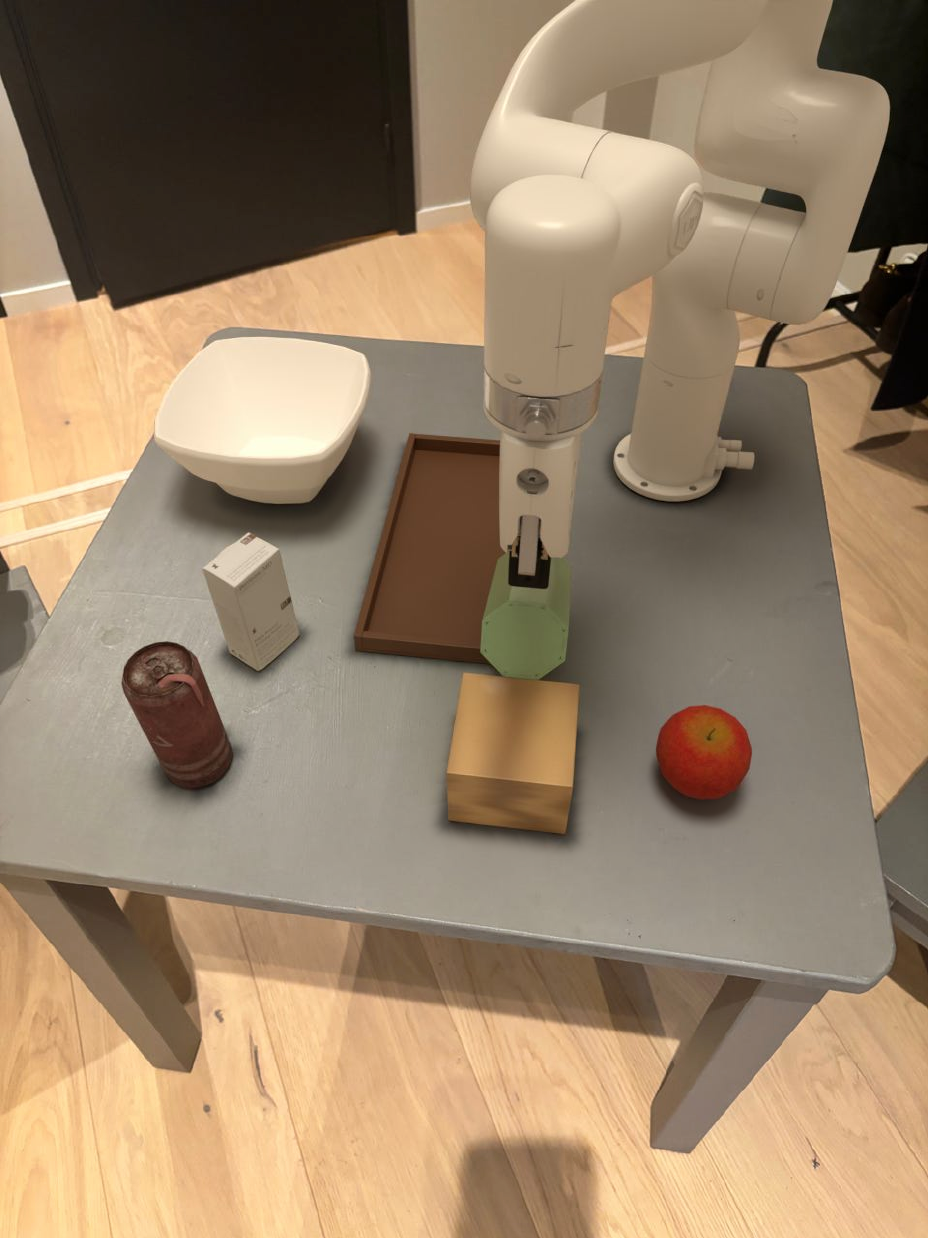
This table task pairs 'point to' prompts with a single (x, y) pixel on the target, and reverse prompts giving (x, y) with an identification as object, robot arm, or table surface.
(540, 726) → the block
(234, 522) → the table surface
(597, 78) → the robot arm
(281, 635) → the cosmetic box
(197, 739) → the can
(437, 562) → the tray
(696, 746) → the apple
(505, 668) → the green cup
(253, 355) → the bowl
